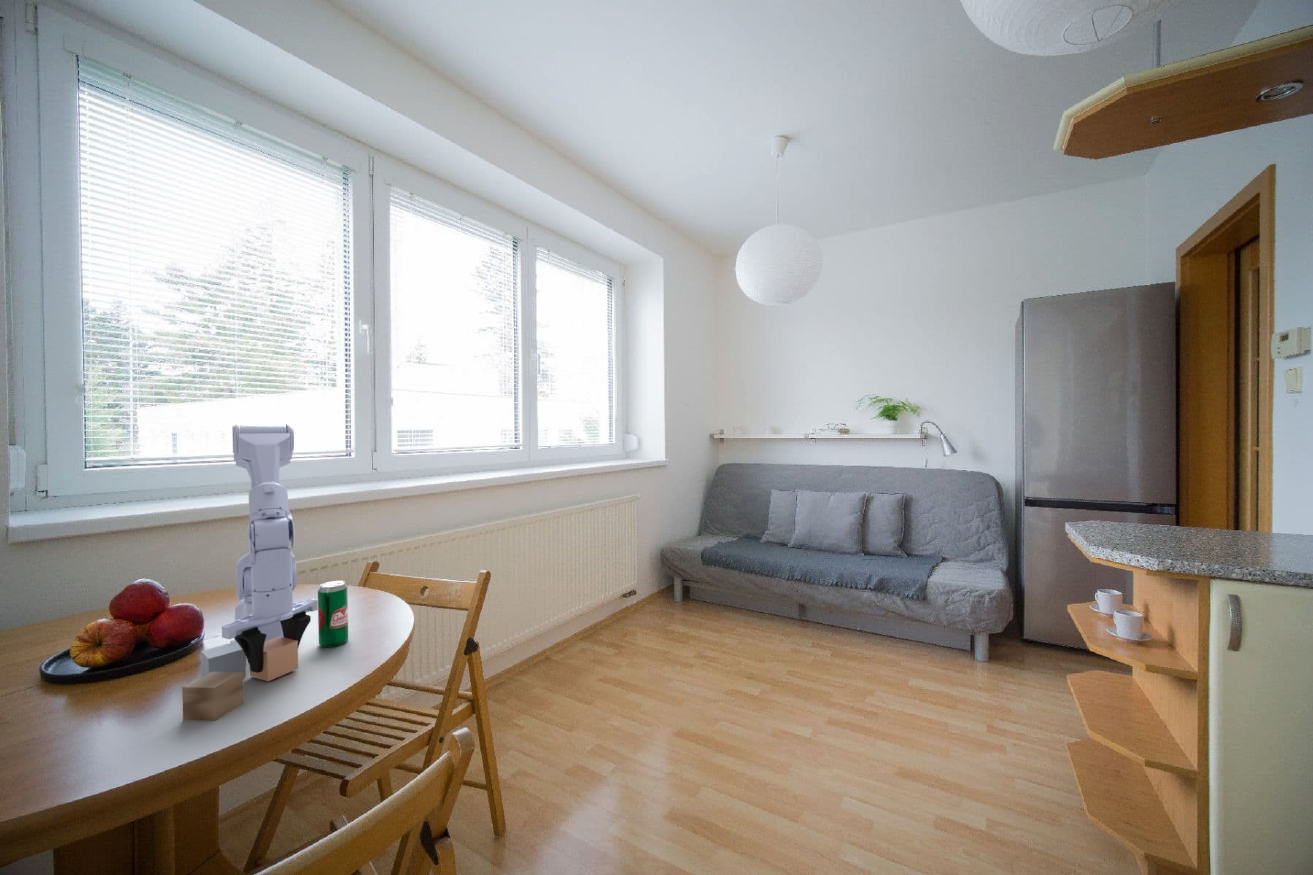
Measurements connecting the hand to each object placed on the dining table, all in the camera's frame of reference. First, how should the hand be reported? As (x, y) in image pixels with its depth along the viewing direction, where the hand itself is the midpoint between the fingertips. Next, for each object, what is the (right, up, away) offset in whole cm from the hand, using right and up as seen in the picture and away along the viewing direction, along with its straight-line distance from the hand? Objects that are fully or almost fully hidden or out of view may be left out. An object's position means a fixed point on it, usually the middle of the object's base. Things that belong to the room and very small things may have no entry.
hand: (274, 663), depth 91 cm
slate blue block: (-8, -2, -1) cm, 8 cm away
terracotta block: (0, -1, 0) cm, 1 cm away
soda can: (+2, -2, +13) cm, 13 cm away
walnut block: (-1, -2, -12) cm, 12 cm away
